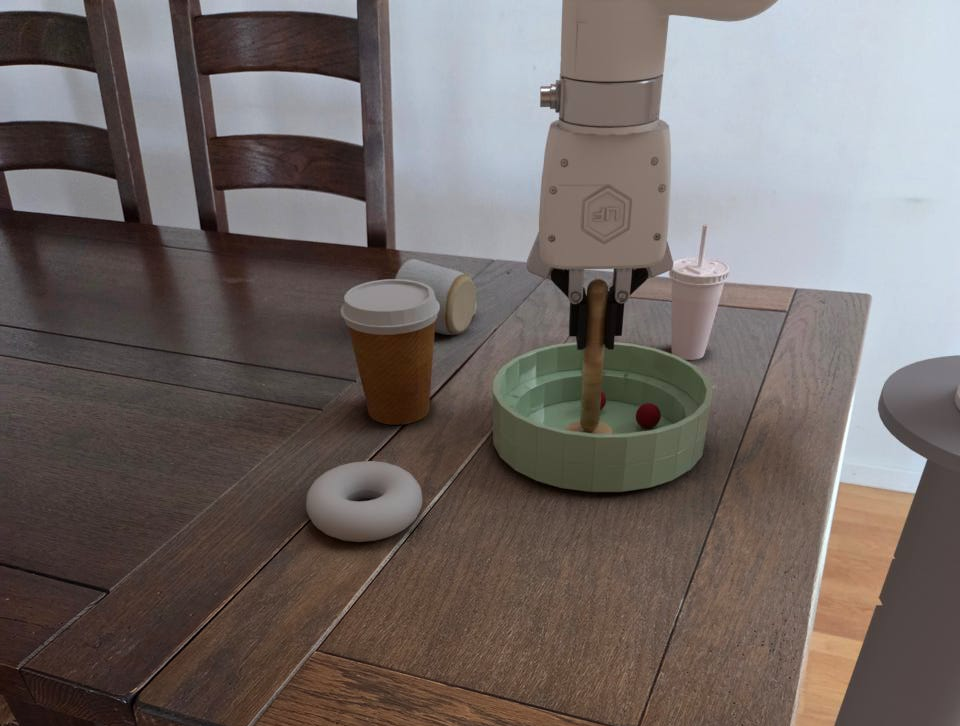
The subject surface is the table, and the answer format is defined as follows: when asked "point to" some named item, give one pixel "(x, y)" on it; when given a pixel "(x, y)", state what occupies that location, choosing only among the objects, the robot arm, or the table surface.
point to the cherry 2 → (648, 415)
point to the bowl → (600, 418)
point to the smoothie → (695, 301)
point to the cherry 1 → (602, 400)
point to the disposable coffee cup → (393, 346)
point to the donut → (364, 520)
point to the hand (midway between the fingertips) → (594, 342)
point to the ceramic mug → (445, 294)
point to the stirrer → (593, 361)
